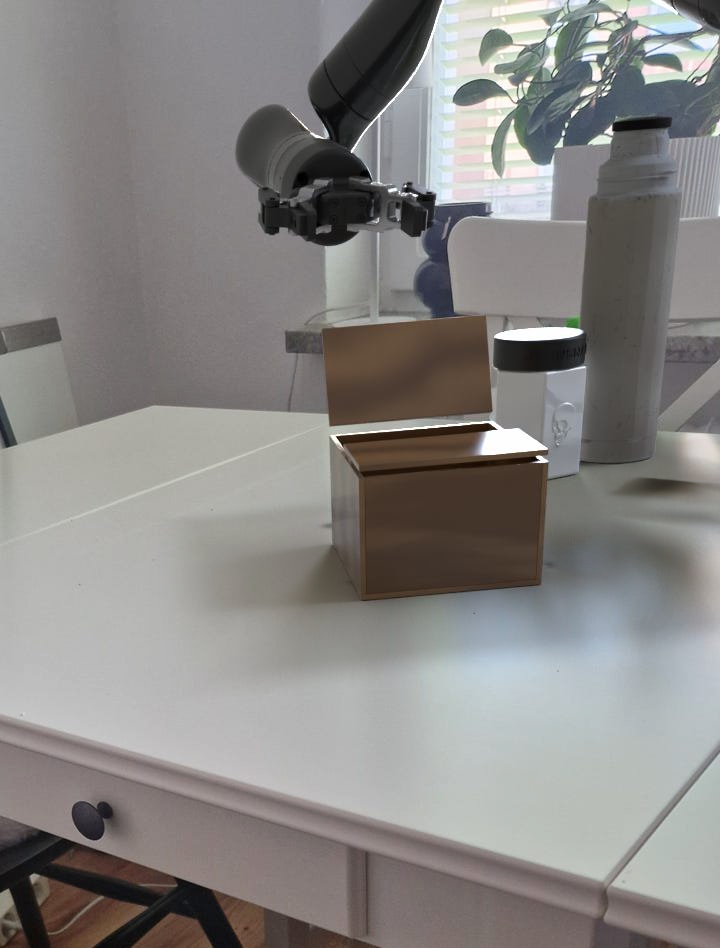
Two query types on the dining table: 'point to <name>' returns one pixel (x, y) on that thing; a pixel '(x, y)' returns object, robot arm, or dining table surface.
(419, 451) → the carton
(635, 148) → the thermos bottle
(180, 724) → the dining table surface
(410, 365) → the flap
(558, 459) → the jar
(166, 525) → the dining table surface
